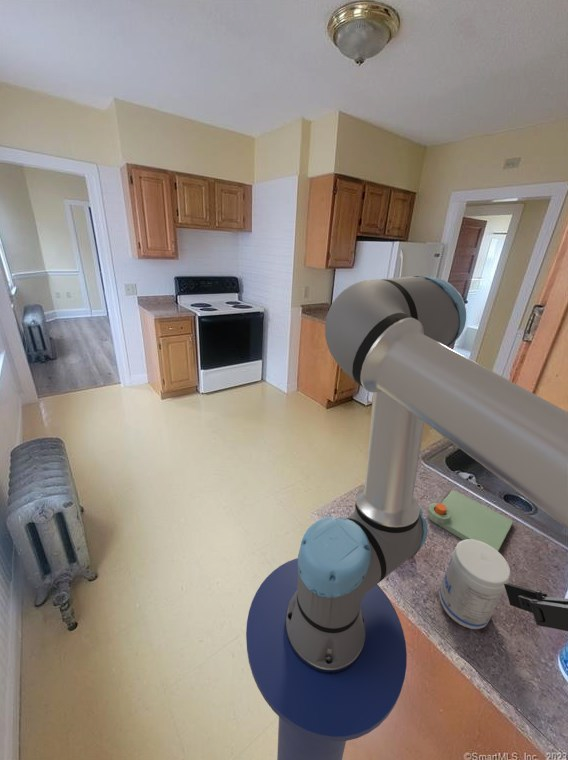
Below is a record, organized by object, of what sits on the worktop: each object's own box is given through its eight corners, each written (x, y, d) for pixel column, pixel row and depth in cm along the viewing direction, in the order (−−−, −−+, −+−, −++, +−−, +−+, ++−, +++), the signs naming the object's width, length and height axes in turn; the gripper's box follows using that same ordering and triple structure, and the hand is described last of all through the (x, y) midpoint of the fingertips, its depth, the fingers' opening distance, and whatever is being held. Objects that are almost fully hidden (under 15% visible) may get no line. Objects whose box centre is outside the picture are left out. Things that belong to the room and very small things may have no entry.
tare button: (433, 511, 87) (434, 506, 87) (437, 506, 89) (438, 501, 88) (442, 517, 86) (444, 512, 85) (446, 511, 87) (448, 507, 87)
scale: (423, 519, 89) (425, 509, 87) (447, 491, 99) (449, 482, 97) (492, 562, 77) (497, 552, 76) (511, 525, 87) (515, 515, 86)
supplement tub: (434, 579, 73) (449, 532, 67) (480, 589, 71) (500, 542, 65) (443, 625, 64) (462, 576, 58) (496, 638, 62) (520, 589, 56)
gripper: (666, 723, 26) (483, 630, 45) (882, 667, 30) (627, 604, 49) (622, 613, 29) (467, 570, 48) (825, 574, 32) (605, 549, 52)
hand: (548, 587), depth 49 cm, fingers open, 13 cm apart
